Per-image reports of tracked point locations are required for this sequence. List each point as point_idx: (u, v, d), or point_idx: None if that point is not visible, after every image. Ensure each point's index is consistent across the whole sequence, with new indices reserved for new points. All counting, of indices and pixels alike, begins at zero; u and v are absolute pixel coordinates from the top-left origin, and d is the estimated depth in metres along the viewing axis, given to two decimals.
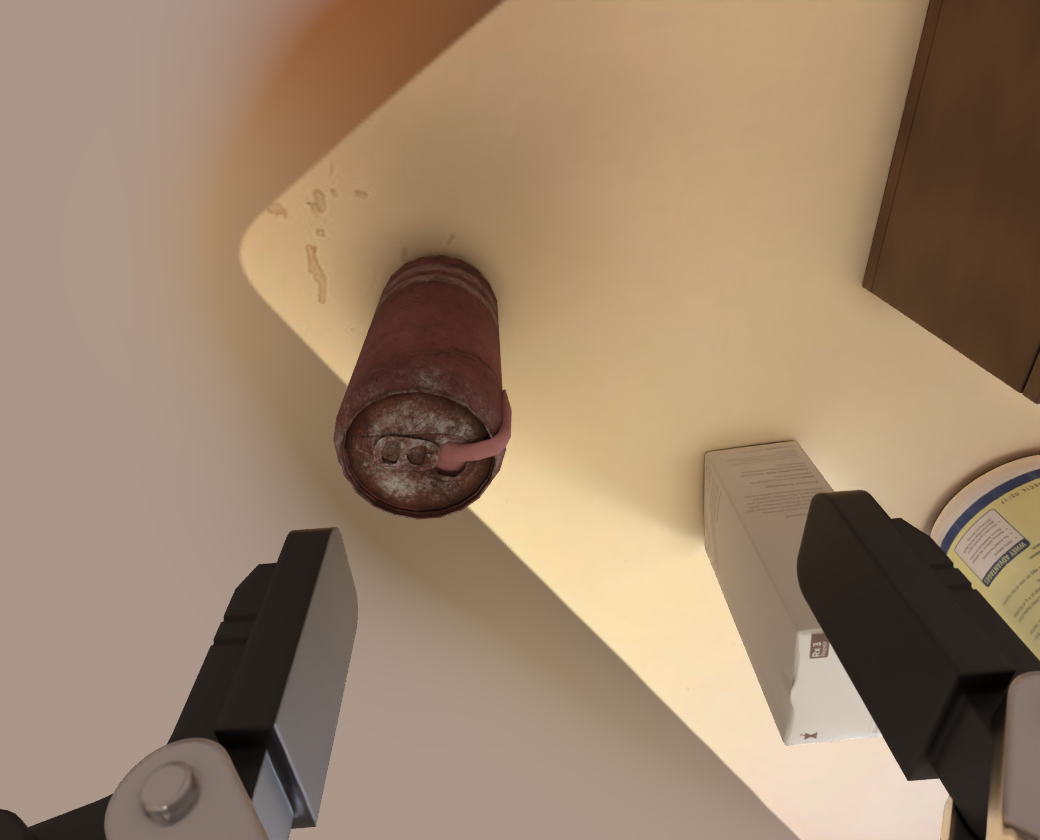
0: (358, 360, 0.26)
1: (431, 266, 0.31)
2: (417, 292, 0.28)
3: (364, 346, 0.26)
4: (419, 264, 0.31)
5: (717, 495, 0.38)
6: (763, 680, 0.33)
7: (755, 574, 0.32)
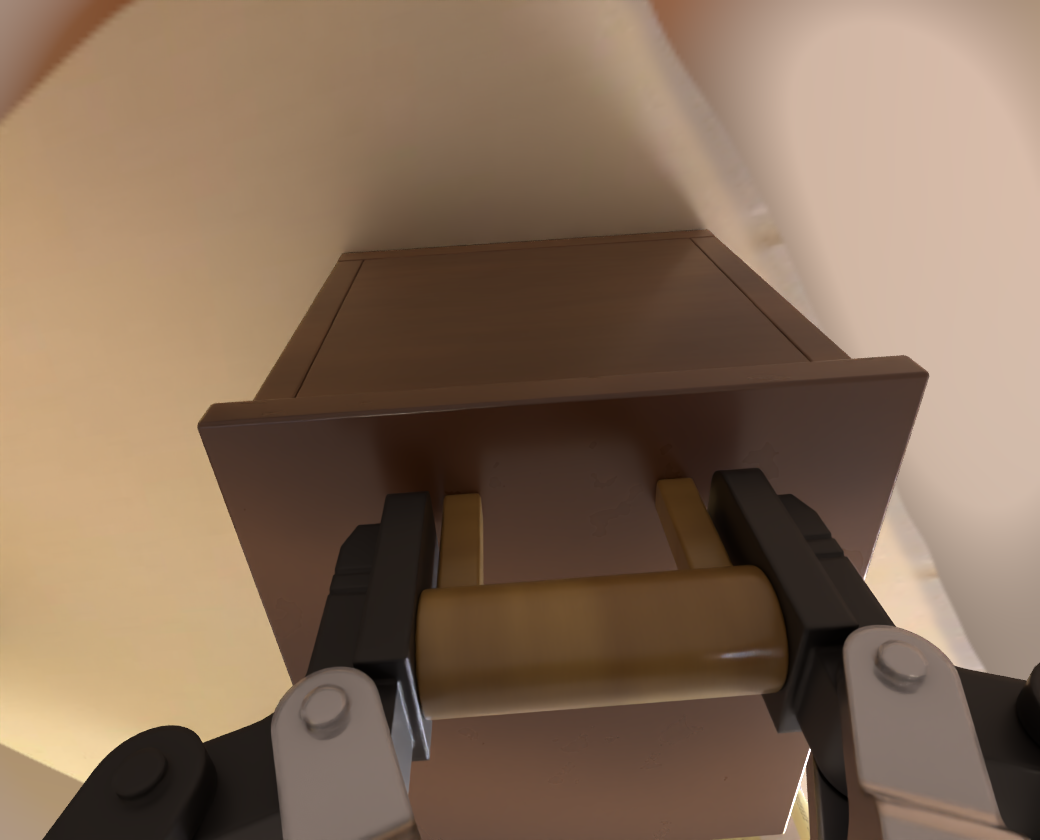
0: None
1: None
2: None
3: None
4: None
5: None
6: None
7: None
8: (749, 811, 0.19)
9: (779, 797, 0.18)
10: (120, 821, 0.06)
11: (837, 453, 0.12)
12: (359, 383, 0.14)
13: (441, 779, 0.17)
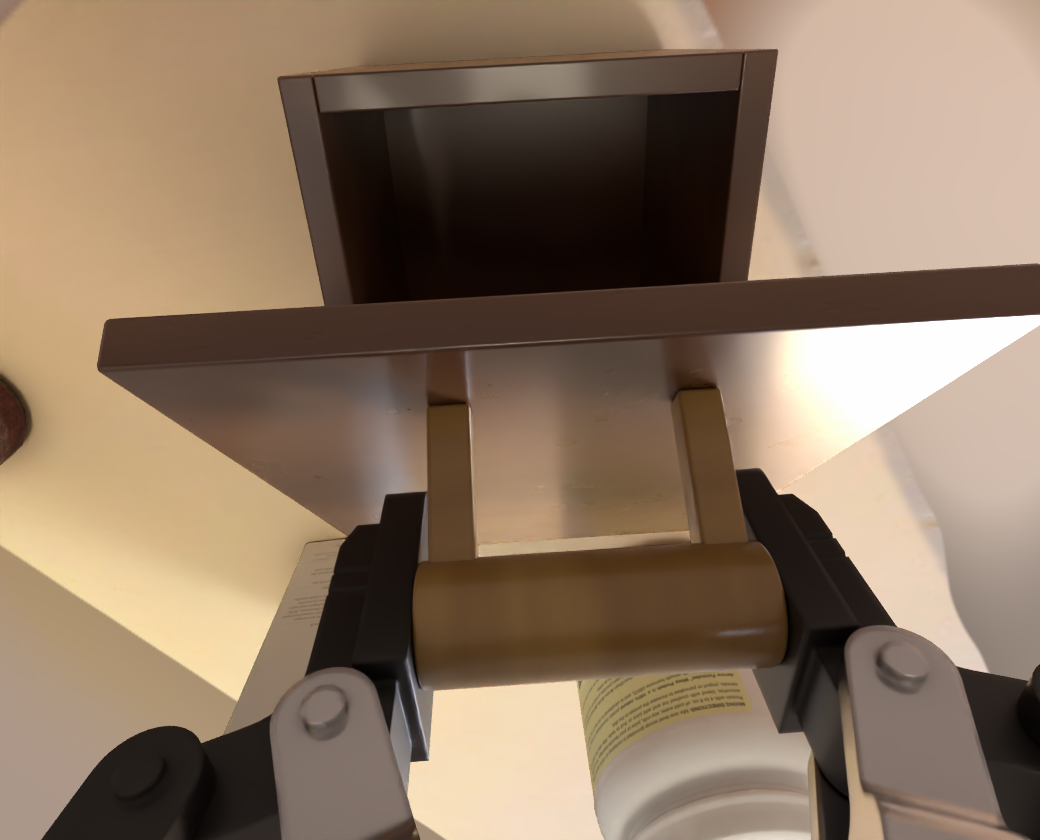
0: None
1: None
2: None
3: None
4: None
5: None
6: None
7: None
8: None
9: None
10: (120, 821, 0.06)
11: (898, 367, 0.10)
12: None
13: None
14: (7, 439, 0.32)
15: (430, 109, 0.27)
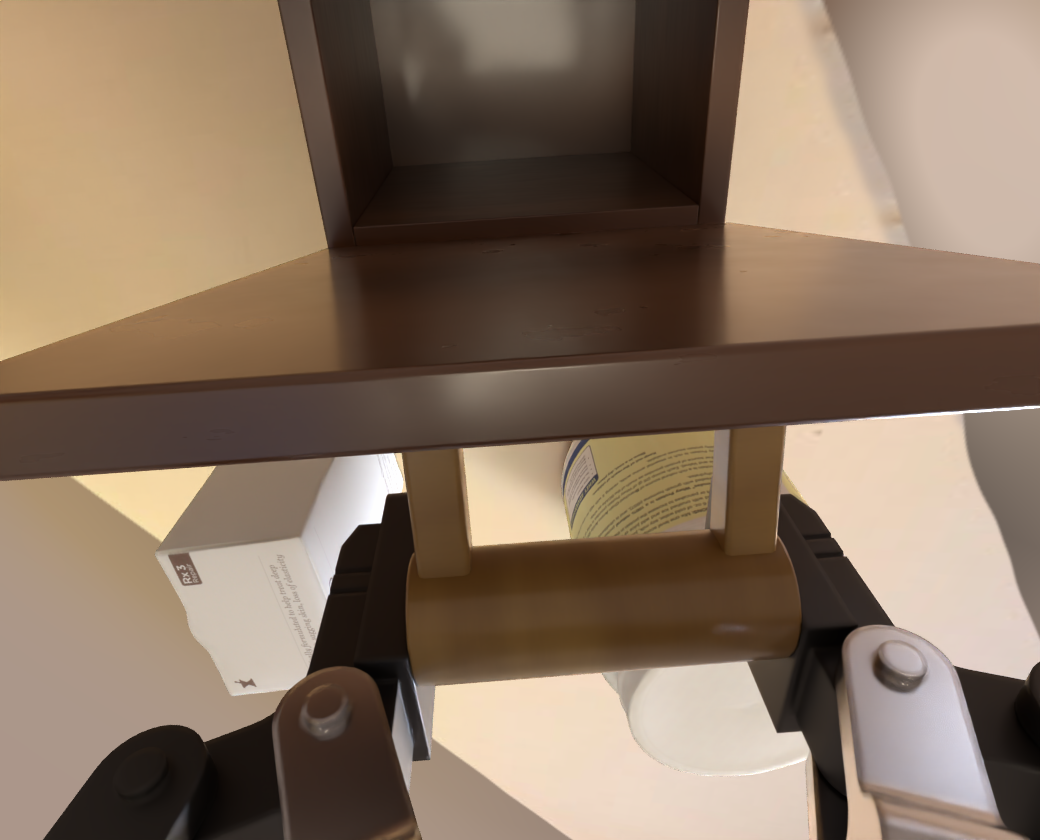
0: None
1: None
2: None
3: None
4: None
5: None
6: None
7: None
8: None
9: None
10: (122, 820, 0.06)
11: None
12: None
13: None
14: None
15: None
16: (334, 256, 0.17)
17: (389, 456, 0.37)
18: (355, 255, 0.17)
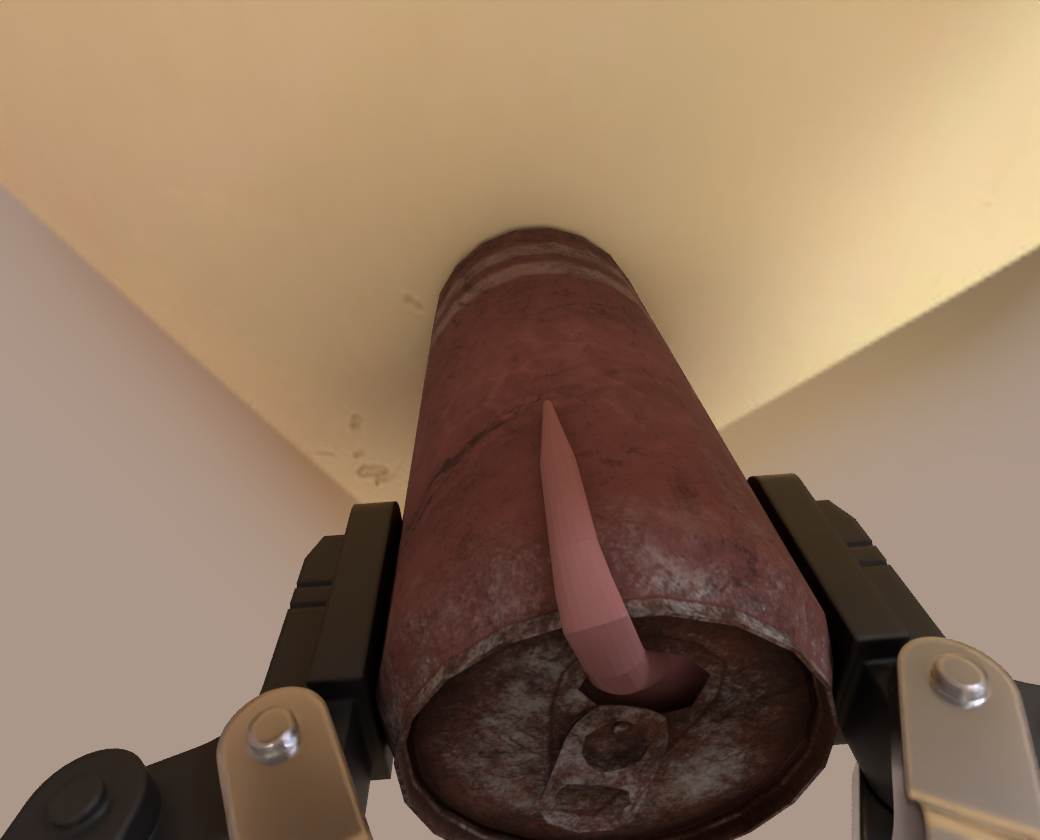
0: None
1: None
2: None
3: None
4: None
5: None
6: None
7: None
8: None
9: None
10: None
11: None
12: None
13: None
14: (572, 248, 0.17)
15: None
16: None
17: None
18: None
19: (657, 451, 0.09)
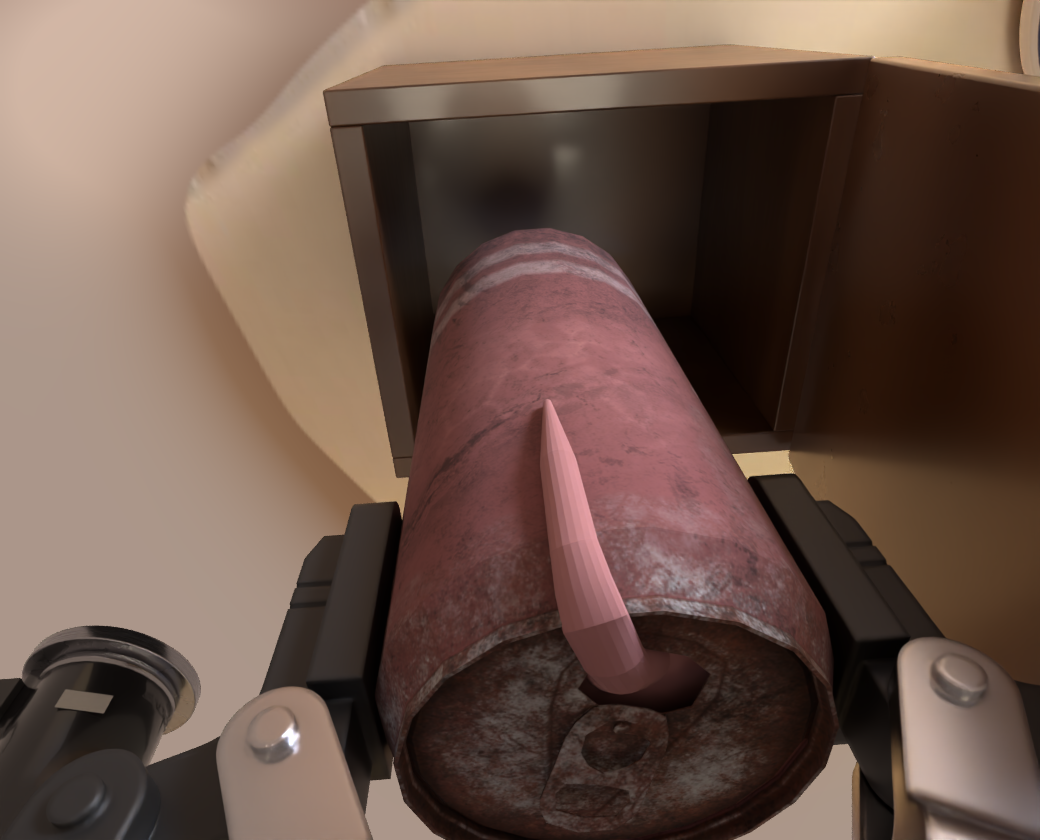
0: None
1: None
2: None
3: None
4: None
5: None
6: None
7: None
8: None
9: None
10: None
11: None
12: None
13: None
14: (573, 247, 0.16)
15: None
16: (816, 490, 0.20)
17: None
18: (821, 478, 0.20)
19: (658, 449, 0.09)
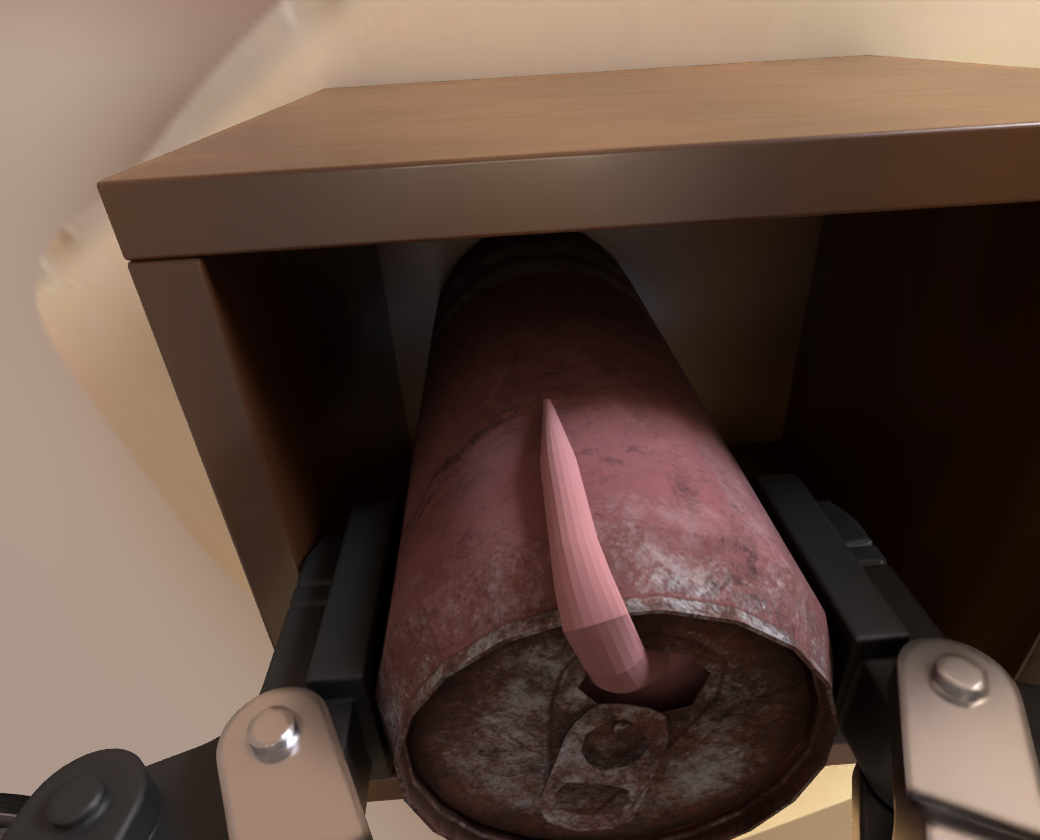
0: None
1: None
2: None
3: None
4: None
5: None
6: None
7: None
8: None
9: None
10: None
11: None
12: None
13: None
14: (573, 247, 0.17)
15: None
16: None
17: None
18: None
19: (658, 449, 0.09)
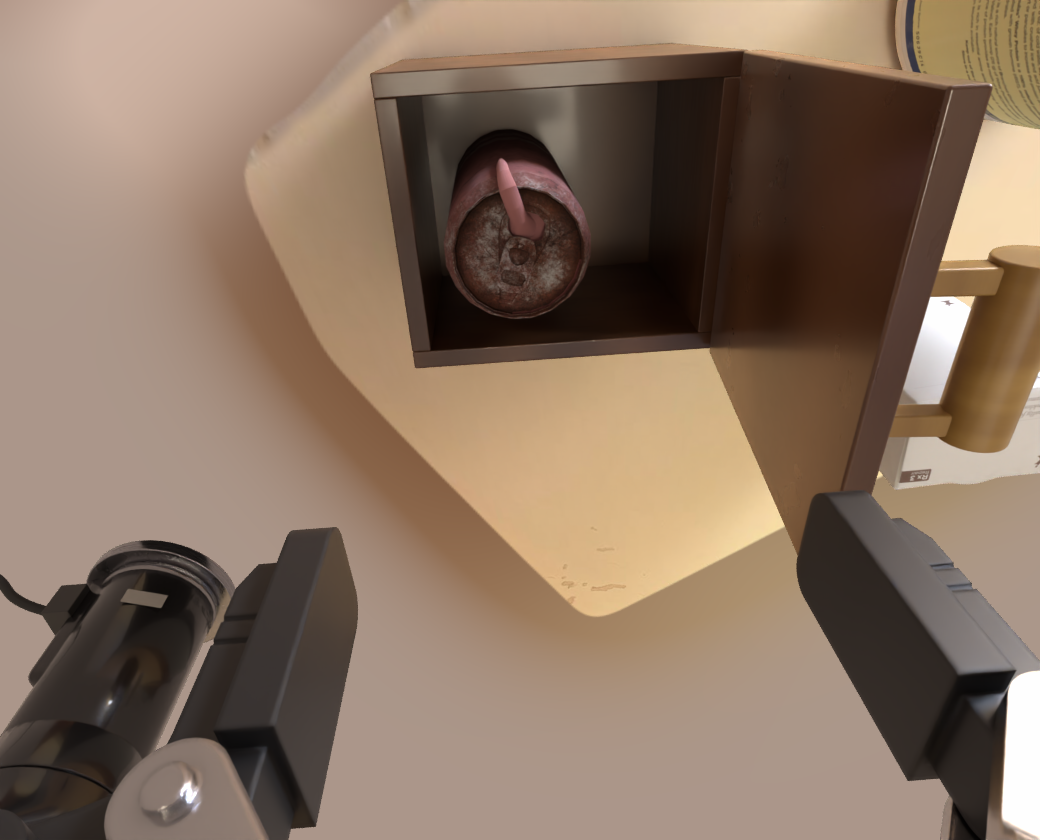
0: None
1: None
2: None
3: None
4: None
5: None
6: None
7: None
8: None
9: None
10: None
11: None
12: None
13: None
14: (522, 135, 0.35)
15: None
16: (725, 363, 0.28)
17: None
18: (728, 352, 0.28)
19: (535, 167, 0.27)
